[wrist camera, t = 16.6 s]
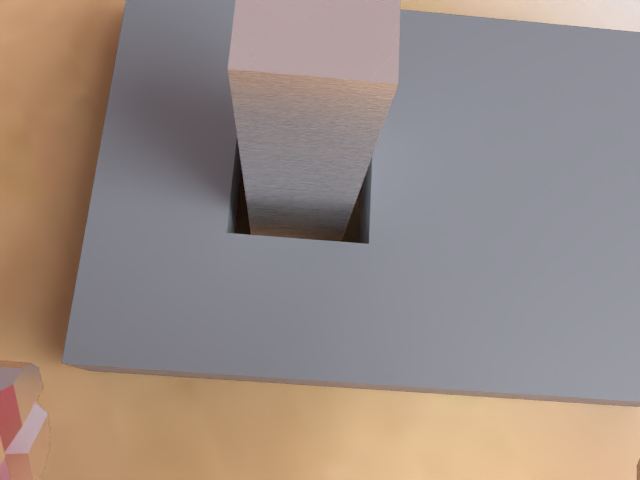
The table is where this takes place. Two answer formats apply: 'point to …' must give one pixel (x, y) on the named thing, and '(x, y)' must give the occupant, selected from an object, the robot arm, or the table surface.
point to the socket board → (378, 221)
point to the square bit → (310, 107)
